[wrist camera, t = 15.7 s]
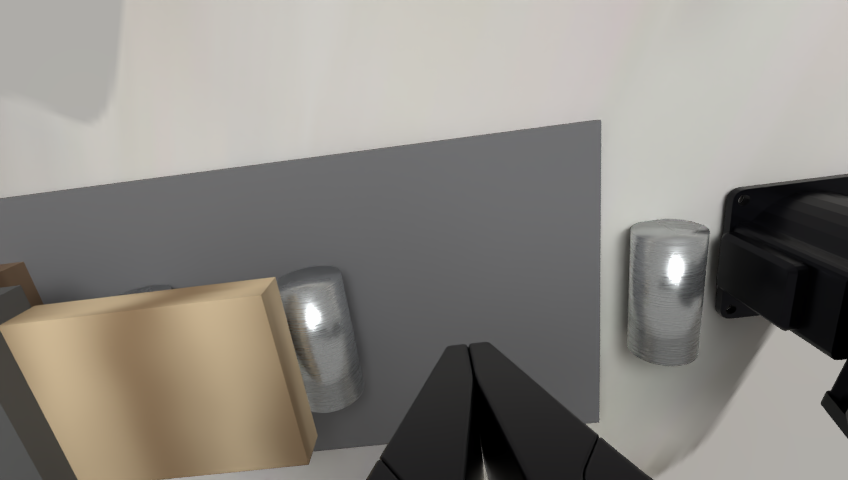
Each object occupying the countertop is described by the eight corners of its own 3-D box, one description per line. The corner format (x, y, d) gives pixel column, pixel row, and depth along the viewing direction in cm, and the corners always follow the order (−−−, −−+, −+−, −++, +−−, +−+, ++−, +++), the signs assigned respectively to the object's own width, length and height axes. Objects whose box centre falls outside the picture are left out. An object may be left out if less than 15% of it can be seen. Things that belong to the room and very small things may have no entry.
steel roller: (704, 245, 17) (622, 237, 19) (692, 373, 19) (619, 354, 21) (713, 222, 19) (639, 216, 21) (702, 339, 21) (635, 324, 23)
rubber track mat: (597, 119, 19) (601, 120, 18) (596, 416, 24) (599, 422, 24) (-59, 206, 20) (-69, 208, 20) (77, 470, 25) (71, 475, 25)
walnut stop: (90, 251, 21) (-47, 318, 15) (159, 418, 24) (70, 529, 18) (-29, 265, 21) (-212, 337, 15) (55, 429, 24) (-67, 542, 18)
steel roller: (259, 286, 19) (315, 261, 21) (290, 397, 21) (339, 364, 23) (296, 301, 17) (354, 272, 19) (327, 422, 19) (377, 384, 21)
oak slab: (275, 276, 17) (261, 295, 16) (317, 435, 20) (308, 464, 18) (34, 305, 18) (-3, 326, 16) (107, 457, 20) (81, 487, 19)
